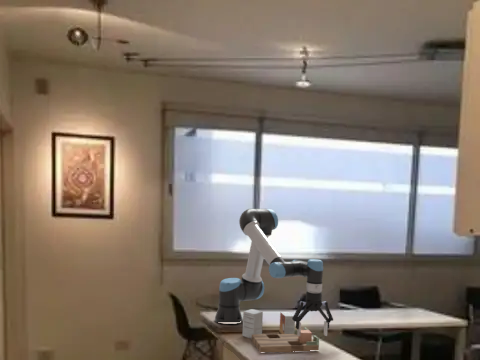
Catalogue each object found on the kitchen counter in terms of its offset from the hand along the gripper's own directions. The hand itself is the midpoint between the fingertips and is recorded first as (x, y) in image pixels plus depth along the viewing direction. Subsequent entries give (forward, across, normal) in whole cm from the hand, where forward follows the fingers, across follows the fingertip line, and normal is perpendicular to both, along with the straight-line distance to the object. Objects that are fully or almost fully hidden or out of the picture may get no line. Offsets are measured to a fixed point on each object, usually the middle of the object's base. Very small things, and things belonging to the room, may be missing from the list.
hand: (312, 335), depth 239 cm
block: (+2, -4, -1) cm, 4 cm away
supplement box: (+5, -26, +16) cm, 31 cm away
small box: (+5, -7, +18) cm, 20 cm away
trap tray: (+5, -14, 0) cm, 15 cm away
